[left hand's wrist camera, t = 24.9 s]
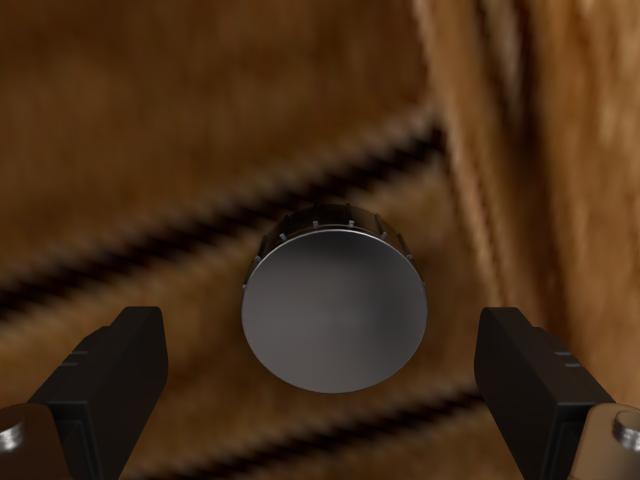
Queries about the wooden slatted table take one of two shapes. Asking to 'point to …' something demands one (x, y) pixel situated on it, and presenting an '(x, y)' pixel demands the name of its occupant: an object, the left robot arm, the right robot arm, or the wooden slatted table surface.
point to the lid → (333, 300)
